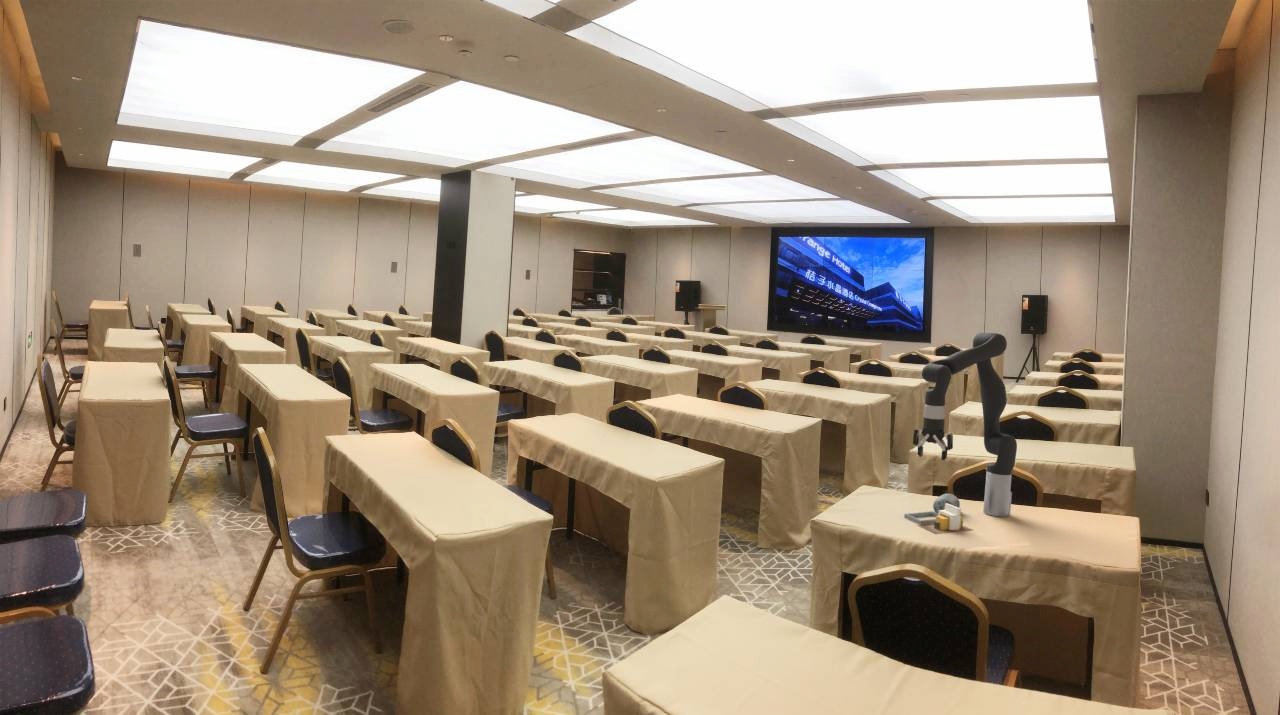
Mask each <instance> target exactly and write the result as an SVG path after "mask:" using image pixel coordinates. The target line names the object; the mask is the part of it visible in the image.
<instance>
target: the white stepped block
mask: <svg viewBox="0 0 1280 715" xmlns="http://www.w3.org/2000/svg"><path fill="white" fill-rule="evenodd" d="M961 512H962V509H961V507H959V508H958V507H956V506H953V505H950V504H948V503H946V504H945V510H939V512H938V516H942V515H945V516H947V517H950V520H949V530H959V526H960V517H961V515H962V514H961Z"/></svg>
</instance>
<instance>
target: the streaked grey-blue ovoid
mask: <svg viewBox="0 0 1280 715" xmlns="http://www.w3.org/2000/svg"><path fill="white" fill-rule="evenodd" d="M946 503H948V504H950V505H953V506H956V507H958V508H961V507H960V506H961V502H960V500H959V498H958V497H957V496H956V495H954V494H952V493H944V494H942V495H940V496H938V497H936V499H935V500H934V501H933V504H932V508H933V510H934V511H933V512H935V513H938V512H939V510H945V504H946Z"/></svg>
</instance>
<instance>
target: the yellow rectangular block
mask: <svg viewBox="0 0 1280 715" xmlns="http://www.w3.org/2000/svg"><path fill="white" fill-rule="evenodd" d="M935 519H936V522H939V523H940V525H939V529H941V530H947V529H949V520H950V517H947V516H945V515H942V516H936V517H935ZM962 521H963V516H960V526H959V528H961V525H962Z"/></svg>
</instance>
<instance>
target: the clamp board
mask: <svg viewBox="0 0 1280 715" xmlns="http://www.w3.org/2000/svg"><path fill="white" fill-rule="evenodd" d="M963 524H964V520H962V525H961V528H959V530H949V529H947V530H941V529H939V525H940V523H939V522H934V523H933V524H923V525H920V524H918V525H916V527H919V528H921V529H923V530H925V531H928V532H930V533H931V534H934V535H942V534H950V533H961V532H971V531H973V529H972V528H970V527H968V526H965V525H963Z"/></svg>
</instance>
